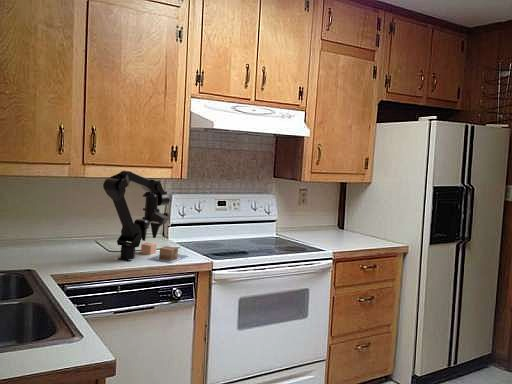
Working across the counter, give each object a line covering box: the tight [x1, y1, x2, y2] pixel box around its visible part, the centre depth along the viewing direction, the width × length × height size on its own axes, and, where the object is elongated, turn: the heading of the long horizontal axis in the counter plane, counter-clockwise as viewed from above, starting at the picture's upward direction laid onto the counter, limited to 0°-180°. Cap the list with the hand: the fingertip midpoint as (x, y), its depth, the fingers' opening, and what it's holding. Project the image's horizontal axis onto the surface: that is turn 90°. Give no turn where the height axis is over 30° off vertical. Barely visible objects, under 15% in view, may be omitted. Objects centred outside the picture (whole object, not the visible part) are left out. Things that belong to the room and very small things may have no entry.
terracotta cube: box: [140, 242, 157, 256], centre depth 231 cm, size 5×5×5 cm
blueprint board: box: [146, 253, 190, 264], centre depth 225 cm, size 18×12×1 cm, turn 161°
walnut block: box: [158, 245, 179, 261], centre depth 223 cm, size 6×6×5 cm
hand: (149, 239), depth 230 cm, fingers open, 9 cm apart
